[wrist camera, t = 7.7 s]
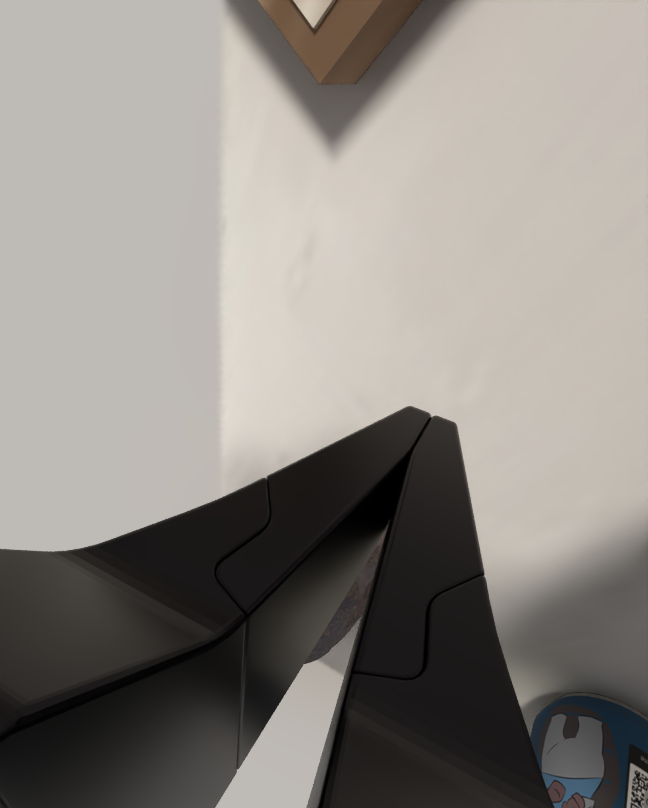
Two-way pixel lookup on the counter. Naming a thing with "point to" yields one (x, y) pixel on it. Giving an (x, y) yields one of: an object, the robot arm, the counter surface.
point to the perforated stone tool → (348, 608)
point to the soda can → (592, 752)
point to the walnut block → (339, 33)
